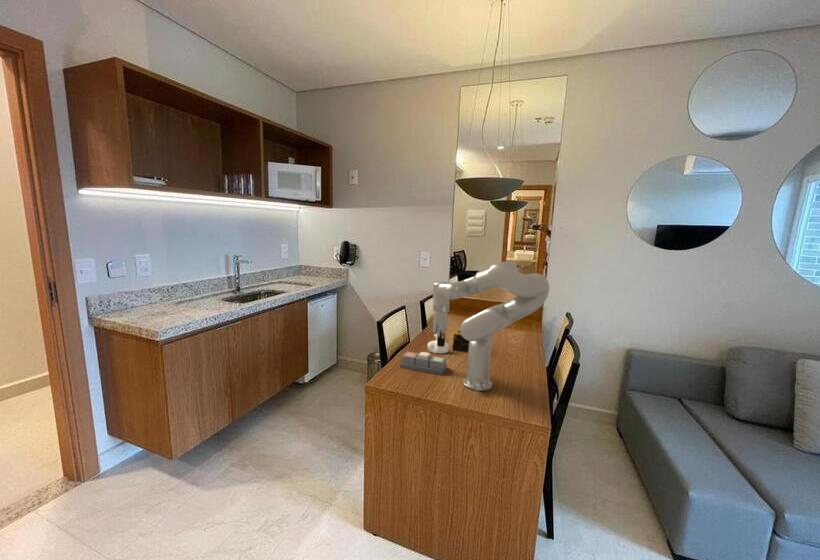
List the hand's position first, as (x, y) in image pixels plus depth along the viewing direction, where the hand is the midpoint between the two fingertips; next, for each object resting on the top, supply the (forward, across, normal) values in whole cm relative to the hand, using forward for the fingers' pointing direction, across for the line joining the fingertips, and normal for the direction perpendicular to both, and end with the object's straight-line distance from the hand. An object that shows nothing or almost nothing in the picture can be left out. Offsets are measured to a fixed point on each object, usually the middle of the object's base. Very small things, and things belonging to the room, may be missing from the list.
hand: (441, 345), depth 158 cm
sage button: (+10, -1, -2) cm, 10 cm away
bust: (+12, -24, -8) cm, 28 cm away
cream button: (+8, -1, -9) cm, 12 cm away
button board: (+12, -1, -9) cm, 15 cm away
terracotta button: (+9, -1, -16) cm, 18 cm away
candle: (+12, -35, +3) cm, 37 cm away
